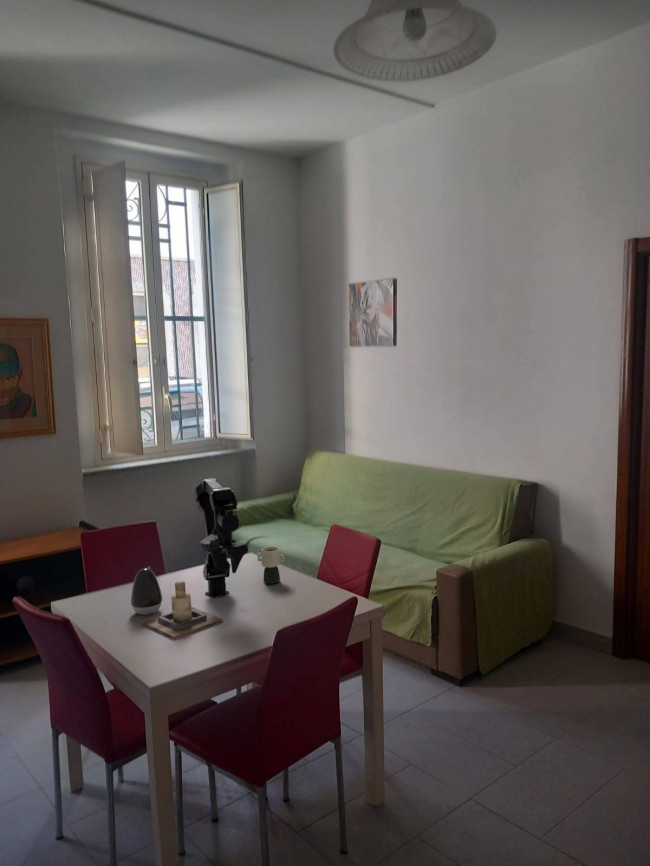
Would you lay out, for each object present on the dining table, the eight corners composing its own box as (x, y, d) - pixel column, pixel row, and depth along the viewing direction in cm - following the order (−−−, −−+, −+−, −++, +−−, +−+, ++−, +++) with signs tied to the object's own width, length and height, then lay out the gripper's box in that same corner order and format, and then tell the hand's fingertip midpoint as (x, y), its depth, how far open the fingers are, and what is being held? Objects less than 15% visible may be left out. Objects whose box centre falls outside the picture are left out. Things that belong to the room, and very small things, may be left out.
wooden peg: (172, 618, 214) (169, 581, 213) (190, 615, 216) (188, 578, 214) (174, 625, 208) (171, 587, 207) (193, 622, 210) (190, 584, 209)
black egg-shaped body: (166, 606, 228) (163, 563, 227) (158, 617, 218) (155, 572, 216) (137, 606, 229) (134, 564, 227) (127, 618, 218) (124, 573, 217)
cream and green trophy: (288, 580, 251) (287, 547, 250) (281, 586, 245) (280, 552, 243) (262, 578, 255) (261, 545, 254) (254, 584, 248) (253, 550, 247)
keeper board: (143, 625, 212) (142, 617, 212) (190, 608, 225) (189, 601, 225) (174, 639, 200) (173, 631, 199) (222, 621, 212) (221, 614, 212)
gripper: (187, 526, 223) (189, 571, 224) (220, 534, 210) (223, 582, 211) (214, 519, 231) (216, 563, 232) (248, 527, 218) (250, 573, 219)
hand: (225, 570), depth 224 cm, fingers open, 9 cm apart
